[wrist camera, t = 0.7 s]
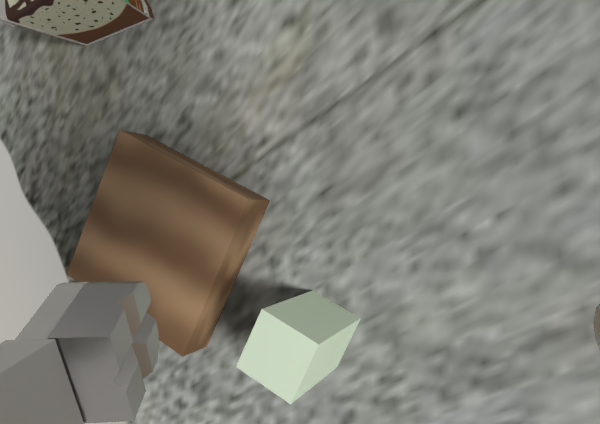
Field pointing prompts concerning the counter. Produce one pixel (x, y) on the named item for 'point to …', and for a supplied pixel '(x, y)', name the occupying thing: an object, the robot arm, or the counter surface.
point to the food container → (76, 17)
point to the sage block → (297, 344)
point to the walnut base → (168, 236)
